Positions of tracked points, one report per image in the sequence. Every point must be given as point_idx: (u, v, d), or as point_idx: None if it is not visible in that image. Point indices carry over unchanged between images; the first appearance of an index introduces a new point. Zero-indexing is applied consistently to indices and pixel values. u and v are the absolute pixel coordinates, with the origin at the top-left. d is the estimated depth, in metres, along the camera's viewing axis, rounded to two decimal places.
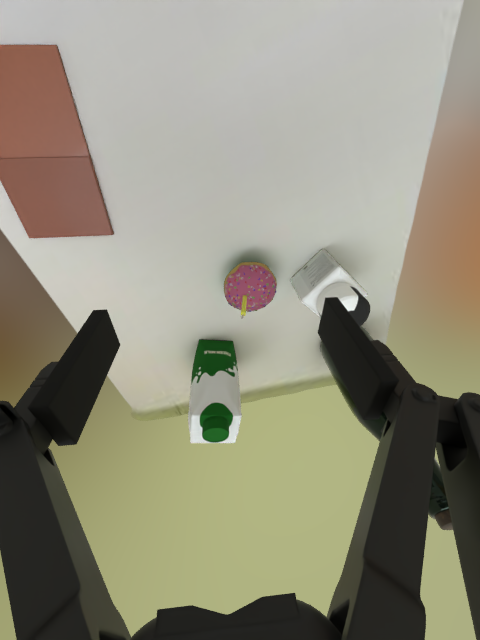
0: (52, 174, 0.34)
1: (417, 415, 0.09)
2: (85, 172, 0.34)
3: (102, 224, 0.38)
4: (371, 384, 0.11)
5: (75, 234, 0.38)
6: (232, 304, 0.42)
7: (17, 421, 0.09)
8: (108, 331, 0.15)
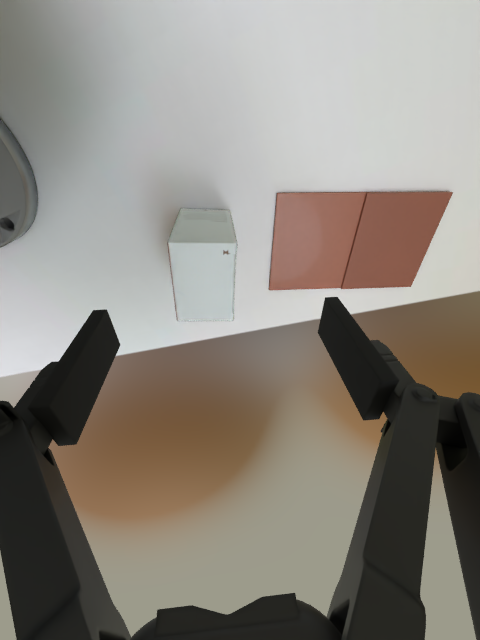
0: (369, 239, 0.32)
1: (417, 415, 0.09)
2: (379, 202, 0.29)
3: (435, 201, 0.30)
4: (371, 384, 0.11)
5: (430, 239, 0.32)
6: None
7: (17, 421, 0.09)
8: (108, 331, 0.15)
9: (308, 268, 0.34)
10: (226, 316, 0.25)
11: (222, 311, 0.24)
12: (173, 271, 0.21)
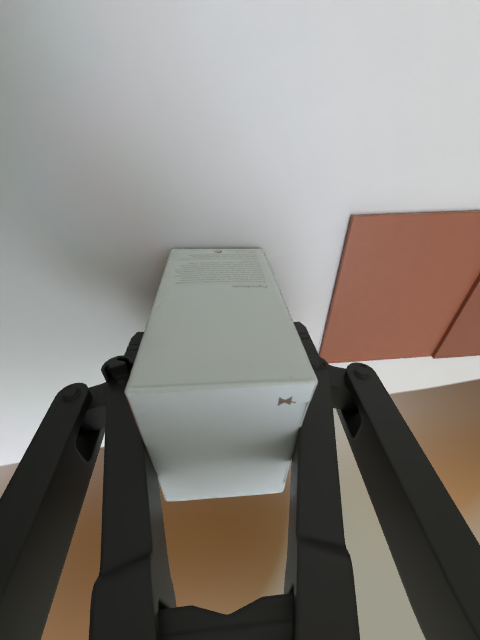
0: None
1: None
2: None
3: None
4: None
5: None
6: None
7: None
8: None
9: (386, 332, 0.20)
10: (270, 489, 0.12)
11: (262, 484, 0.11)
12: (148, 440, 0.08)
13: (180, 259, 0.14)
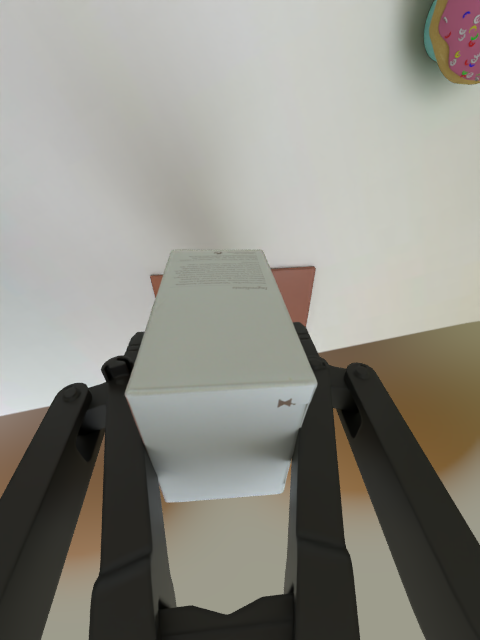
0: None
1: None
2: None
3: (302, 276, 0.32)
4: None
5: (307, 304, 0.35)
6: None
7: None
8: None
9: None
10: (270, 490, 0.12)
11: (262, 485, 0.11)
12: (148, 442, 0.08)
13: (180, 260, 0.14)
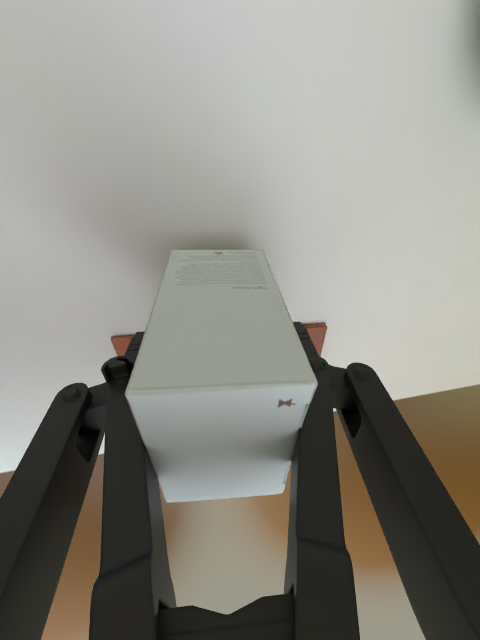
0: None
1: None
2: None
3: None
4: None
5: None
6: None
7: None
8: None
9: None
10: (270, 490, 0.12)
11: (262, 485, 0.11)
12: (148, 442, 0.08)
13: (180, 260, 0.14)
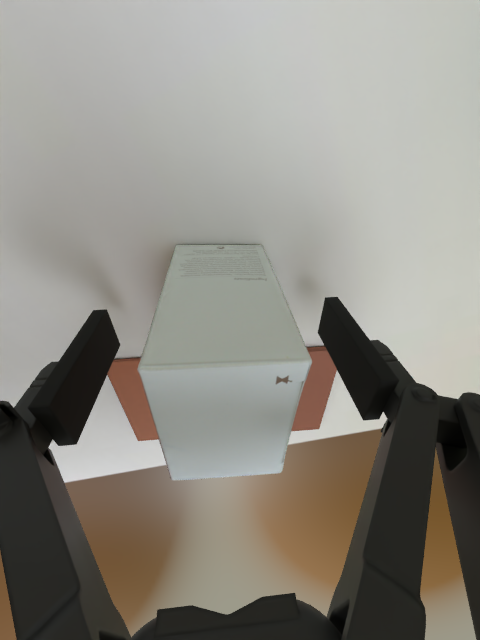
0: None
1: (417, 415, 0.09)
2: None
3: (322, 359, 0.22)
4: (371, 384, 0.11)
5: (327, 390, 0.25)
6: None
7: (17, 421, 0.09)
8: (108, 331, 0.15)
9: None
10: (269, 469, 0.12)
11: (262, 464, 0.12)
12: (157, 417, 0.09)
13: (184, 254, 0.15)
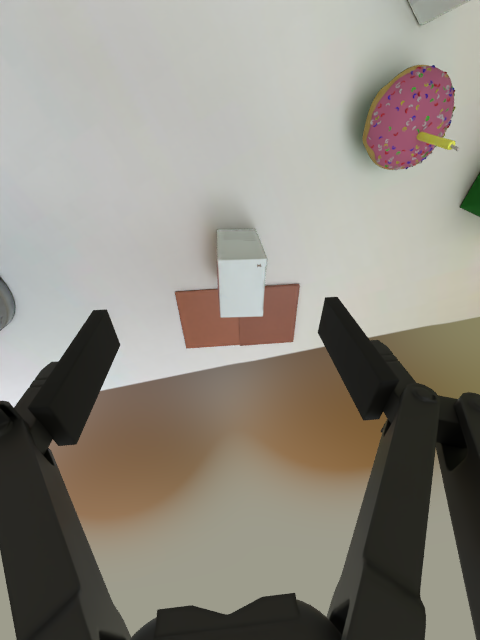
0: None
1: (417, 415, 0.09)
2: None
3: (289, 291, 0.42)
4: (371, 384, 0.11)
5: (294, 312, 0.45)
6: (424, 156, 0.28)
7: (17, 421, 0.09)
8: (108, 331, 0.15)
9: (211, 333, 0.46)
10: (257, 313, 0.32)
11: (254, 309, 0.32)
12: (220, 280, 0.29)
13: (222, 232, 0.34)
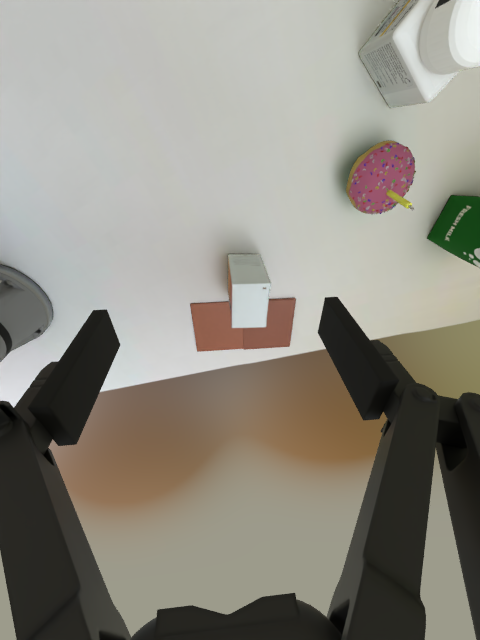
0: None
1: (417, 415, 0.09)
2: None
3: (287, 304, 0.50)
4: (371, 384, 0.11)
5: (291, 321, 0.52)
6: (393, 205, 0.36)
7: (17, 421, 0.09)
8: (108, 331, 0.15)
9: (219, 339, 0.54)
10: (262, 324, 0.40)
11: (259, 321, 0.39)
12: (233, 299, 0.37)
13: (232, 257, 0.42)
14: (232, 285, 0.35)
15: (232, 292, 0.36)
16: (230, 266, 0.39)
